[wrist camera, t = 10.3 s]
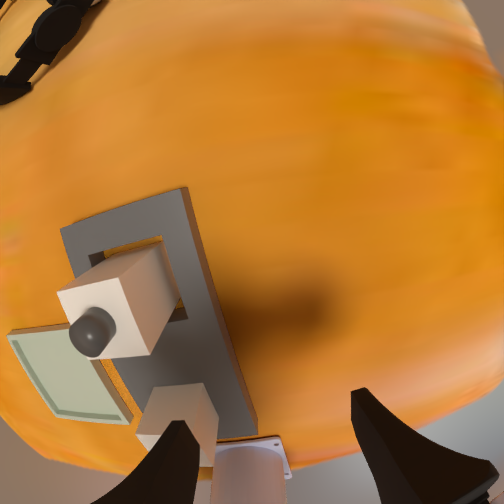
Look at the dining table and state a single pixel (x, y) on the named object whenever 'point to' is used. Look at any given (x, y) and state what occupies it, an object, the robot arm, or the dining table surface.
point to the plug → (121, 303)
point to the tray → (68, 376)
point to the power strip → (174, 327)
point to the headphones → (43, 44)
